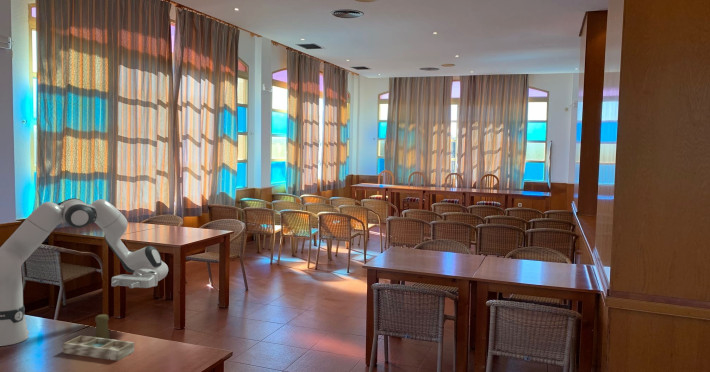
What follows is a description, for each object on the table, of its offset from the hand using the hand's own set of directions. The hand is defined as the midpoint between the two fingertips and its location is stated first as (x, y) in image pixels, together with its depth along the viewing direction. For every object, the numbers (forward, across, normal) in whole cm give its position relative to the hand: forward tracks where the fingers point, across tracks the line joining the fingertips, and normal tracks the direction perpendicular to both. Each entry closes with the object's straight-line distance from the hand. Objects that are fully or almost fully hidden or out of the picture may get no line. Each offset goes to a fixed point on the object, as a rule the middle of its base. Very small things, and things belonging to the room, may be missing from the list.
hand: (121, 285), depth 228 cm
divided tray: (+24, +8, +20) cm, 32 cm away
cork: (+12, 0, +21) cm, 24 cm away
